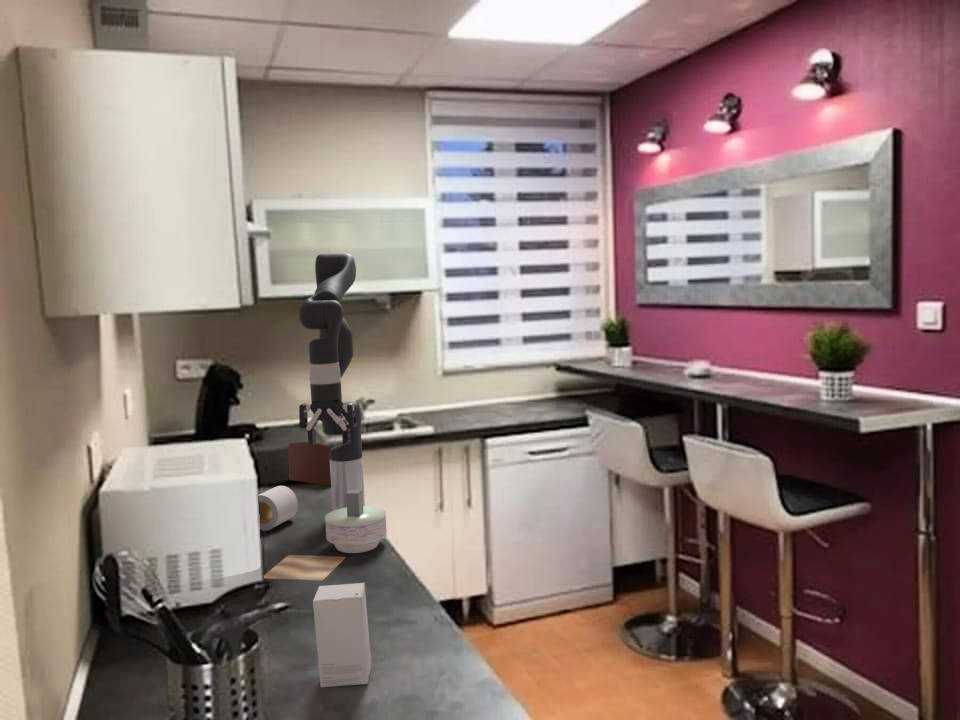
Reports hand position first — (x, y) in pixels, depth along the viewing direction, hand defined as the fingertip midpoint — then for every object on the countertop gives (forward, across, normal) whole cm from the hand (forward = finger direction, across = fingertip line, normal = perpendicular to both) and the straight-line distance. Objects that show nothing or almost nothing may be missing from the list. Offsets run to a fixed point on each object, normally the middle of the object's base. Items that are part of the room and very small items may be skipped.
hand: (329, 444), depth 198 cm
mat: (+27, +2, +15) cm, 31 cm away
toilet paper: (+27, +24, -16) cm, 40 cm away
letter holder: (+28, +29, -66) cm, 77 cm away
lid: (+19, -6, 0) cm, 20 cm away
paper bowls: (+27, -6, 0) cm, 28 cm away
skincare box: (+26, -25, +63) cm, 73 cm away
